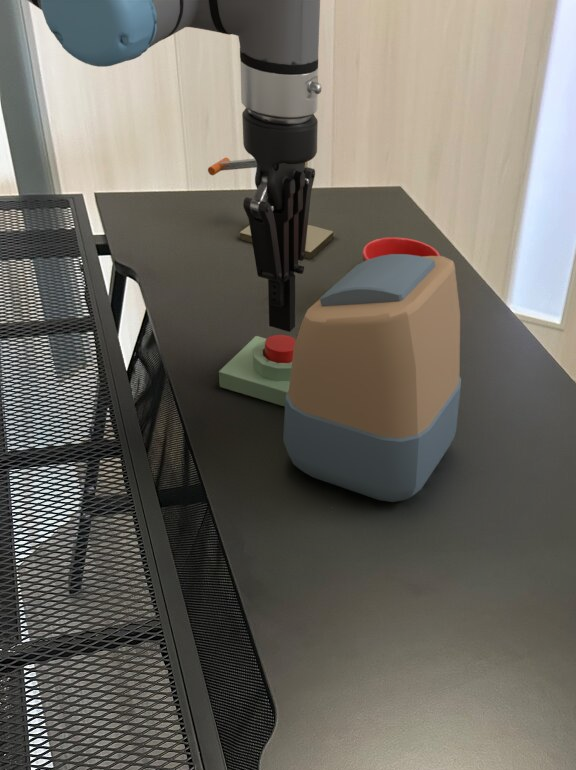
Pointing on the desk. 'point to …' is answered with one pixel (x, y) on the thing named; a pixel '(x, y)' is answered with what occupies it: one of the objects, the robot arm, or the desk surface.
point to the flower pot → (397, 248)
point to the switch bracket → (313, 240)
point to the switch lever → (231, 165)
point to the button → (279, 348)
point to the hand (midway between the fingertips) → (282, 326)
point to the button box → (256, 374)
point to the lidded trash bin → (377, 377)
